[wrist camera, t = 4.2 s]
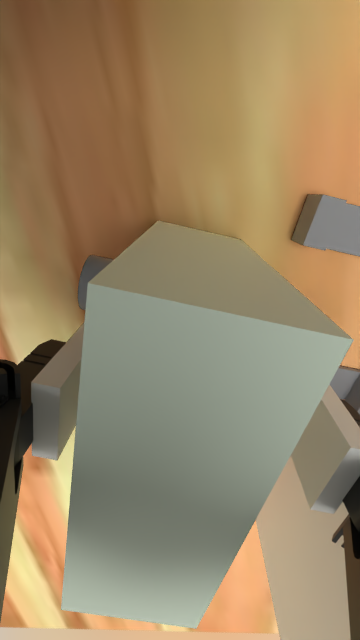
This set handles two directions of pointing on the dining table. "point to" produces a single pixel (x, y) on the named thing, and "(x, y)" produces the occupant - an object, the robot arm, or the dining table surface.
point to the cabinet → (288, 496)
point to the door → (183, 417)
